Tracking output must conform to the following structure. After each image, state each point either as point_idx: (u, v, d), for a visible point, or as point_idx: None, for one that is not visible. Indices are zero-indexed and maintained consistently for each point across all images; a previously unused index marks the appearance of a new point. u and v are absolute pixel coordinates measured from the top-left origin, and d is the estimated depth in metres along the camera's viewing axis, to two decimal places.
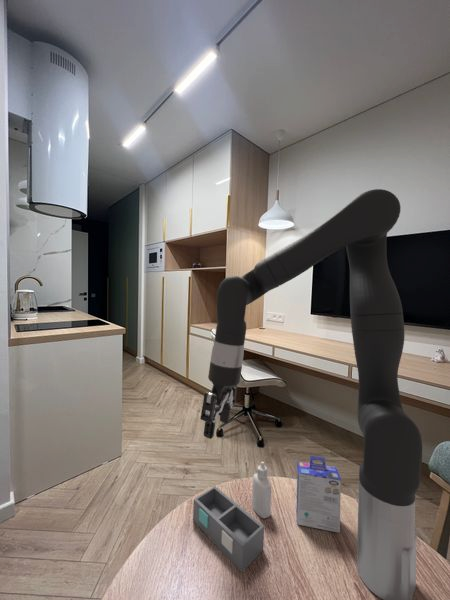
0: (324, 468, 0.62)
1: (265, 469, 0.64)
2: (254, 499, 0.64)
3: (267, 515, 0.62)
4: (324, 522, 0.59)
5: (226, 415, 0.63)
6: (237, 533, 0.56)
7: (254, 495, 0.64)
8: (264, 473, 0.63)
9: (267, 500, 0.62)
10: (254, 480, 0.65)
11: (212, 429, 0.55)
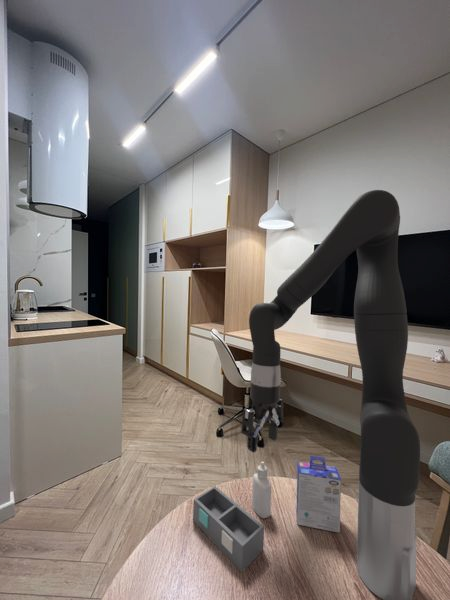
0: (324, 468, 0.62)
1: (265, 469, 0.64)
2: (254, 499, 0.64)
3: (267, 515, 0.62)
4: (324, 522, 0.59)
5: (273, 432, 0.67)
6: (237, 533, 0.56)
7: (254, 495, 0.64)
8: (264, 473, 0.63)
9: (267, 500, 0.62)
10: (254, 480, 0.65)
11: (254, 443, 0.61)
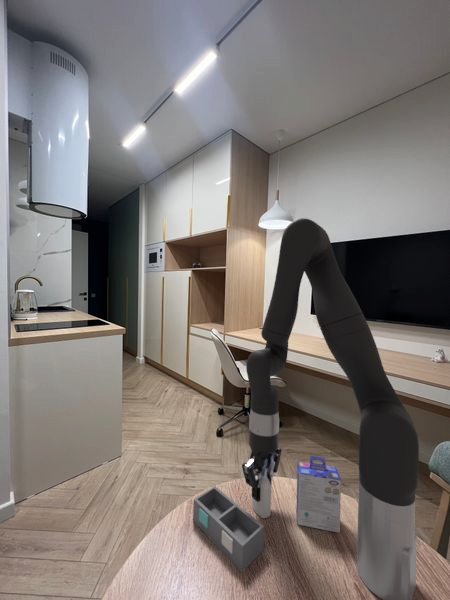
0: (324, 468, 0.62)
1: (265, 469, 0.64)
2: None
3: (267, 515, 0.62)
4: (324, 522, 0.59)
5: None
6: (237, 533, 0.56)
7: None
8: None
9: (267, 500, 0.62)
10: None
11: (258, 493, 0.62)
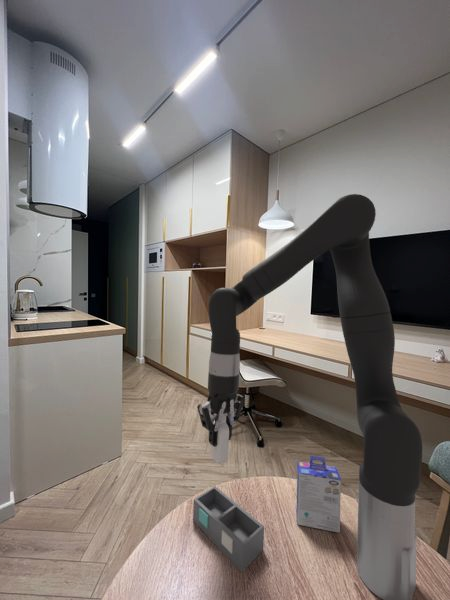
0: (324, 468, 0.62)
1: (224, 414, 0.61)
2: (212, 445, 0.61)
3: (224, 460, 0.59)
4: (324, 522, 0.59)
5: None
6: (237, 533, 0.56)
7: None
8: (222, 417, 0.60)
9: (224, 444, 0.59)
10: None
11: (215, 437, 0.59)
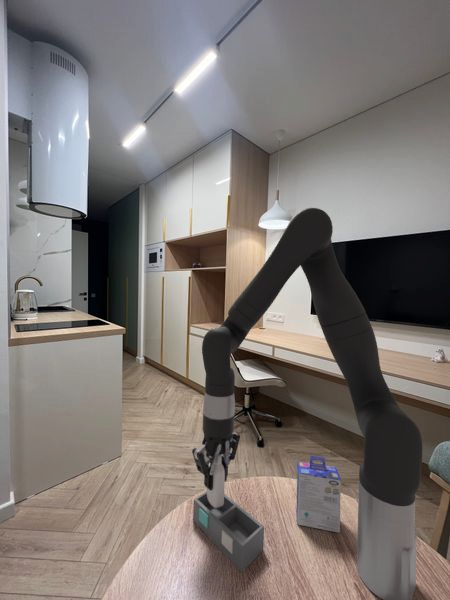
0: (324, 468, 0.62)
1: (219, 455, 0.60)
2: None
3: (220, 504, 0.58)
4: (324, 522, 0.59)
5: None
6: (237, 533, 0.56)
7: None
8: (218, 460, 0.59)
9: (220, 488, 0.58)
10: None
11: (210, 481, 0.58)
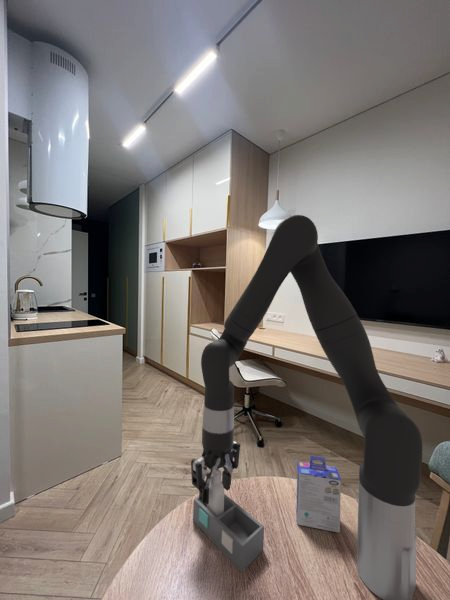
0: (324, 468, 0.62)
1: (218, 473, 0.59)
2: (207, 504, 0.60)
3: None
4: (324, 522, 0.59)
5: (226, 482, 0.62)
6: (237, 533, 0.56)
7: None
8: (217, 478, 0.59)
9: (219, 506, 0.57)
10: None
11: (205, 495, 0.57)
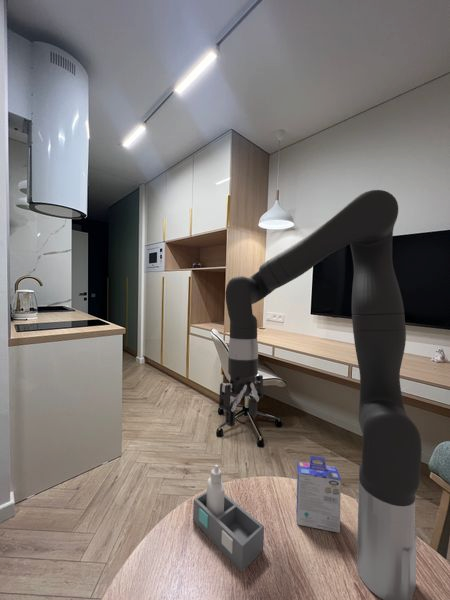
0: (324, 468, 0.62)
1: (219, 473, 0.60)
2: (207, 505, 0.60)
3: None
4: (324, 522, 0.59)
5: (253, 408, 0.66)
6: (237, 533, 0.56)
7: (207, 501, 0.60)
8: (217, 477, 0.59)
9: (220, 506, 0.58)
10: (208, 485, 0.60)
11: (232, 418, 0.60)
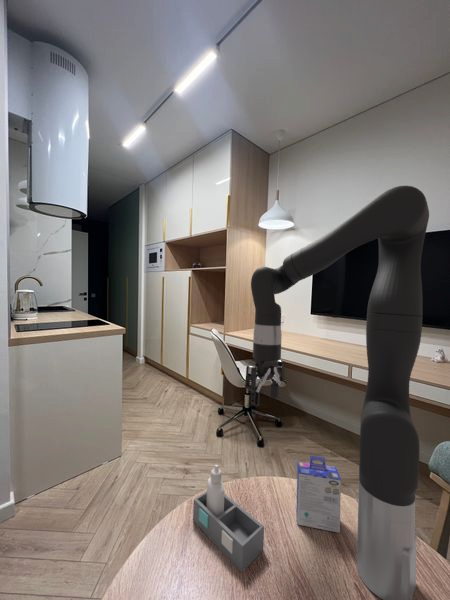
0: (324, 468, 0.62)
1: (219, 473, 0.60)
2: (207, 505, 0.60)
3: None
4: (324, 522, 0.59)
5: (275, 391, 0.71)
6: (237, 533, 0.56)
7: (207, 501, 0.60)
8: (217, 477, 0.59)
9: (220, 506, 0.58)
10: (208, 485, 0.60)
11: (257, 398, 0.65)
